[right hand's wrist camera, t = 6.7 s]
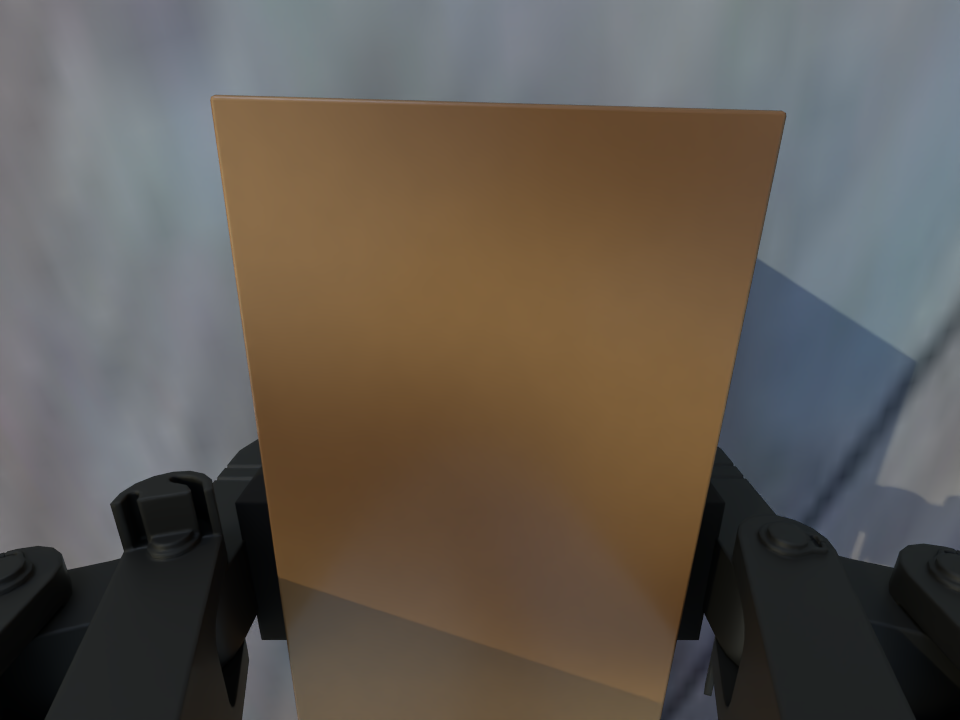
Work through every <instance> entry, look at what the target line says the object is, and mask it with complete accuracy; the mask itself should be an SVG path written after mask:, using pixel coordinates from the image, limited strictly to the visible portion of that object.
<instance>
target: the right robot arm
mask: <svg viewBox="0 0 960 720" xmlns="http://www.w3.org/2000/svg"><path fill="white" fill-rule="evenodd" d="M227 466H228V467H227V468H225V469H224V470H223V471H222V472H221V474H220V475H219V476H218V477H217V478H218V479H217V480H215V481H214V482H213V483H212V479H210V478H209V477H208V476H206V475H205V474H203V473H198V472H193V471H180V472H170V473H166V474H162V475H157V476H153V477H151V478H148V479H146V480H143V481H141V482H138V483H136V484H134V485H133V486H131V487H129V488H128V489H126V490H125V491H123V492H121V493H120V494H119V495H118V496H117V497H116V498H115V499H114V500H113V502H112V503H111V504H110V505H111V509H112V512H113V515H114V519H115V522H116V525H117V529H118V532H119V536H120V539H121V542H122V546H123V549H124V553H123V555H122V557H121V558H120V559H117V560H113V561H109V562H104V563H99V564H94V565H89V566H85V567H80V568H75V569H70V570H67V568H66V565H65V562H64V559H63V557H62V554H61V553H60V552H58V551H57V550H56V549H54V548H51V547H42V546H35V547H28V548H21V549H15V550H11V551H7V553H1V554H0V720H242V714H243V706H244V698H245V690H246V681H247V673H248V665H249V657H248V650H247V645H246V640H245V637H246V635H247V633H248V631H249V629H250V627H251V625H252V623H253V621H254V619H255V617H256V615H257V618H258V624H259V629H260V634H261V639H262V640H287V638H286V630H285V623H284V616H283V609H282V602H281V595H280V588H279V581H278V574H277V567H276V560H275V553H274V546H273V539H272V532H271V524H270V517H269V510H268V503H267V496H266V489H265V482H264V475H263V468H262V461H261V454H260V447H259V440H258V439H257V440H256V441H254V442H253V443H251V444H249V445H248V446H246V447H245V448H243V449H241V450H240V451H239V452H238V453H237V454H236V456H235V457H234V458H233V459H232V460H231V462H230V463H229V464H228V465H227ZM704 614H705V616H706V618H707V620H708V622H709V624H710V626H711V628H712V630H713V632H714V634H715V640H714V645H713V649H712V654H711V659H710V663H709V668H708V673H707V678H706V683H705V689H704V694H705V695H709V696H711V695H712V690H713V686H714V688H715V696H716V705H717V713H718V720H960V551H959V550H957V551H956V550H954V549H952V548H948V547H943V546H936V545H929V544H916V545H908V546H907V547H905V548H904V549H902V550H901V551H900V552H899V555H898V558H897V561H896V564H895V567H894V568H892V567H887V566H882V565H877V564H873V563H868V562H863V561H858V560H853V559H849V558H845V557H841V556H838V554H837V552H836V550H835V549H834V547H833V546H832V545H831V544H830V542H829V541H828V540H827V539H826V538H825V537H824V536H822V535H821V534H820V533H818V532H817V531H815V530H814V529H813V528H811V527H808V526H806V525H804V524H802V523H800V522H798V521H796V520H792V519H788V518H785V517H781V516H777V515H776V514H775V513H774V512H773V511H772V509H771V508H770V507H769V506H768V505H767V503H766V502H765V501H764V500H763V499H762V497H761V496H760V495H759V494H758V493H757V491H756V490H755V489H754V488H753V487H752V485H751V484H750V483H749V482H748V481H747V479H744V478H743V475H742V473H741V472H740V471H739V470H738V469H737V467H736V466H733V463H732V461H731V460H730V459H729V458H728V457H727V455H726V454H725V453H724V452H723V451H722V449H720V448H719V447H717V450H716V455H715V460H714V465H713V469H712V474H711V479H710V484H709V489H708V493H707V498H706V503H705V508H704V512H703V517H702V522H701V527H700V532H699V536H698V541H697V546H696V551H695V556H694V560H693V565H692V570H691V575H690V580H689V584H688V589H687V594H686V599H685V603H684V608H683V613H682V618H681V623H680V627H679V632H678V637H677V640H699V636H700V630H701V625H702V620H703V615H704Z"/></svg>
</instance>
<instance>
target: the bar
mask: <svg viewBox="0 0 960 720" xmlns="http://www.w3.org/2000/svg"><path fill="white" fill-rule="evenodd" d="M211 107H212V115H213V122H214V129H215V136H216V143H217V150H218V157H219V164H220V171H221V178H222V185H223V192H224V199H225V206H226V213H227V221H228V228H229V235H230V242H231V249H232V256H233V263H234V270H235V277H236V284H237V291H238V298H239V305H240V312H241V320H242V327H243V334H244V341H245V348H246V355H247V362H248V369H249V376H250V383H251V390H252V397H253V404H254V411H255V418H256V426H257V433H258V440H259V447H260V454H261V461H262V468H263V475H264V482H265V489H266V496H267V503H268V510H269V517H270V524H271V532H272V539H273V546H274V553H275V560H276V567H277V574H278V581H279V588H280V595H281V602H282V609H283V616H284V623H285V630H286V638H287V645H288V652H289V659H290V666H291V673H292V680H293V687H294V694H295V701H296V708H297V715H298V720H660V718H661V714H662V709H663V704H664V699H665V694H666V690H667V685H668V680H669V675H670V671H671V666H672V661H673V656H674V651H675V647H676V642H677V637H678V632H679V627H680V623H681V618H682V613H683V608H684V603H685V599H686V594H687V589H688V584H689V580H690V575H691V570H692V565H693V560H694V556H695V551H696V546H697V541H698V536H699V532H700V527H701V522H702V517H703V512H704V508H705V503H706V498H707V493H708V489H709V484H710V479H711V474H712V469H713V465H714V460H715V455H716V450H717V445H718V441H719V436H720V431H721V426H722V422H723V417H724V412H725V407H726V402H727V398H728V393H729V388H730V383H731V378H732V374H733V369H734V364H735V359H736V354H737V350H738V345H739V340H740V335H741V331H742V326H743V321H744V316H745V311H746V307H747V302H748V297H749V292H750V287H751V283H752V278H753V273H754V268H755V263H756V259H757V254H758V249H759V244H760V240H761V235H762V230H763V225H764V220H765V216H766V211H767V206H768V201H769V196H770V192H771V187H772V182H773V177H774V173H775V168H776V163H777V158H778V153H779V149H780V144H781V139H782V134H783V129H784V125H785V120H786V113H785V112H783V111H772V110H737V109H701V108H665V107H629V106H594V105H558V104H522V103H487V102H451V101H415V100H379V99H344V98H308V97H272V96H236V95H214V96H212V97H211Z"/></svg>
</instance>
